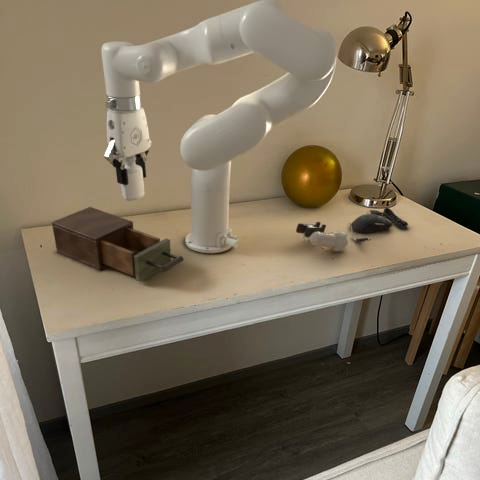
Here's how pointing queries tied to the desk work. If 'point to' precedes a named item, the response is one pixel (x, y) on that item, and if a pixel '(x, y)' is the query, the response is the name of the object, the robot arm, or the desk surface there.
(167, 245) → the drawer
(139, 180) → the eye dropper bottle
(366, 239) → the clip-on lamp
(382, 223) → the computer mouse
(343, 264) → the desk surface
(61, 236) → the cabinet
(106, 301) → the desk surface
